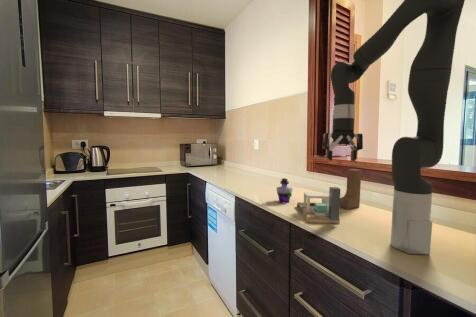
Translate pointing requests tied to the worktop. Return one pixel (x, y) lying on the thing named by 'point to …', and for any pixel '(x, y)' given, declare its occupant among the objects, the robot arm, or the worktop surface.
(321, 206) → the block
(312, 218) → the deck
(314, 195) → the cream open box
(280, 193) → the potion bottle
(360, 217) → the worktop surface
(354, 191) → the wooden block
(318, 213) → the grey angular piece
